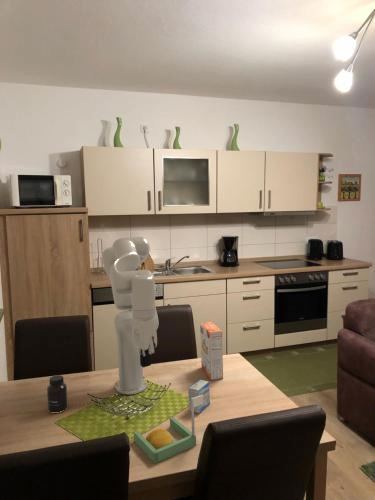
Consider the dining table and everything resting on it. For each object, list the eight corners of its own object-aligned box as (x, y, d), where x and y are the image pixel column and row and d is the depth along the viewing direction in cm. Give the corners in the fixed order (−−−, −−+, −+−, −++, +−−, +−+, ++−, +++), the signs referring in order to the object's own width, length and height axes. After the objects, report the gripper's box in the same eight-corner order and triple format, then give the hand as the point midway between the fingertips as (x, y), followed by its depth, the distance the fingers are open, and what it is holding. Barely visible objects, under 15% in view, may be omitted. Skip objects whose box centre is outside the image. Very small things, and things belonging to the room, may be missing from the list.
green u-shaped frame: (134, 440, 121) (132, 395, 119) (181, 421, 131) (180, 379, 129) (154, 463, 110) (153, 413, 108) (205, 440, 120) (204, 394, 118)
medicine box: (199, 414, 135) (198, 390, 134) (188, 410, 137) (188, 387, 136) (210, 404, 142) (209, 381, 141) (199, 401, 144) (199, 379, 143)
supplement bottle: (49, 416, 136) (47, 383, 135) (46, 407, 142) (44, 376, 141) (69, 410, 139) (67, 379, 138) (66, 402, 146) (64, 372, 144)
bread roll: (152, 458, 113) (151, 445, 112) (143, 441, 121) (142, 429, 120) (178, 450, 116) (178, 437, 115) (168, 434, 124) (167, 422, 124)
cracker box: (200, 367, 174) (199, 322, 171) (213, 365, 175) (212, 321, 173) (209, 381, 160) (208, 332, 158) (223, 379, 162) (222, 330, 159)
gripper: (123, 309, 130) (125, 360, 133) (144, 320, 118) (145, 377, 121) (143, 305, 134) (145, 355, 137) (165, 316, 122) (166, 371, 125)
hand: (145, 365), depth 129 cm, fingers closed
